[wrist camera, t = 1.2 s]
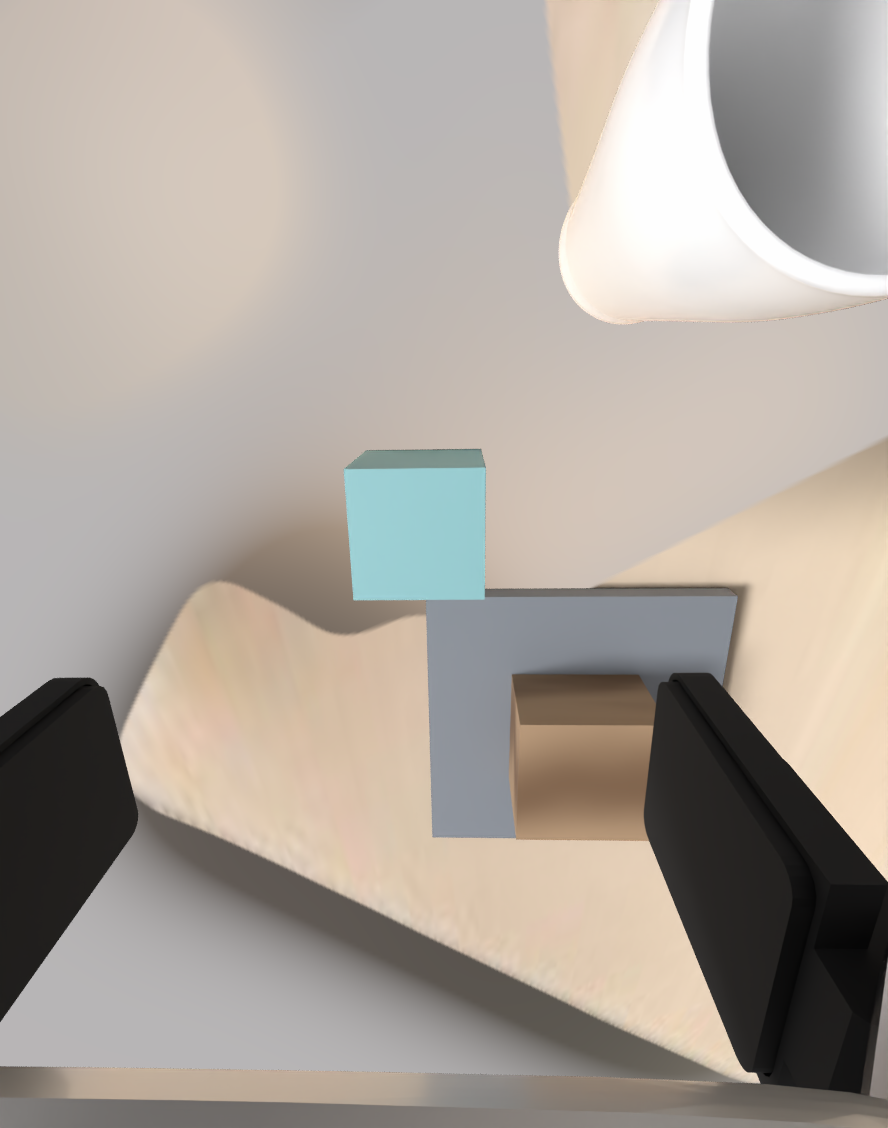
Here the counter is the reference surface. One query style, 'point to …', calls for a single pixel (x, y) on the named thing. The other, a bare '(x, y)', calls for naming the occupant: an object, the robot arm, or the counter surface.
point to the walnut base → (579, 756)
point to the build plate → (545, 646)
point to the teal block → (417, 524)
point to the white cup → (739, 167)
